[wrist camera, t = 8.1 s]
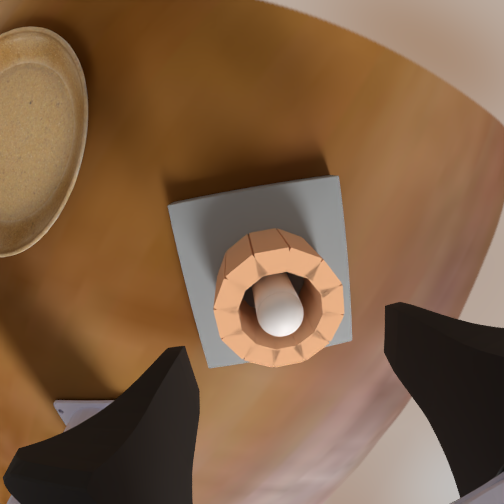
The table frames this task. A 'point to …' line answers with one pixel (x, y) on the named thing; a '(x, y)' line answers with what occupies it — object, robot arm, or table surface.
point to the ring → (311, 296)
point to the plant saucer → (38, 133)
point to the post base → (252, 220)
